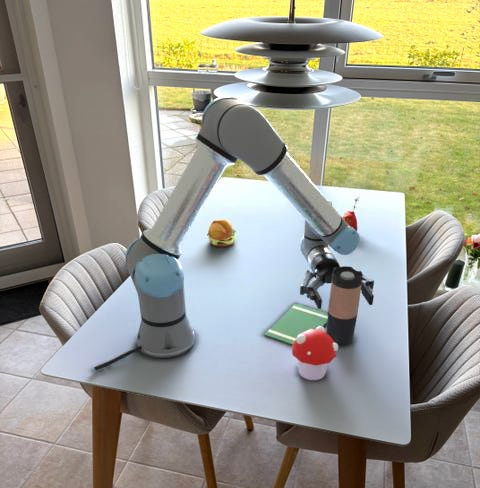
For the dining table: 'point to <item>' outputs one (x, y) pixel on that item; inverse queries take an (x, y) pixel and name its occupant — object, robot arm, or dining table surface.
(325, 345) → the mushroom
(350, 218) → the red clay folk toy
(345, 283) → the travel mug
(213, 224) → the cheeseburger
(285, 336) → the cloth
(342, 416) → the dining table surface
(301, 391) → the dining table surface
